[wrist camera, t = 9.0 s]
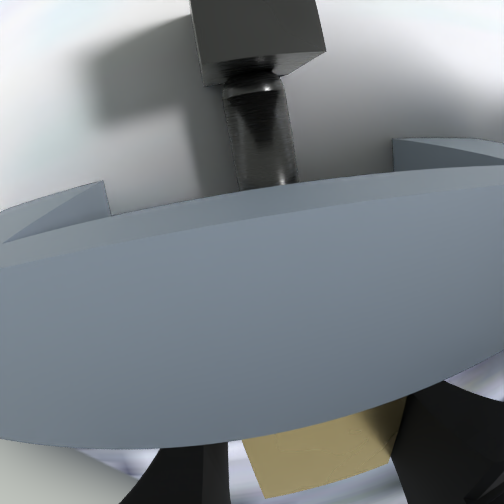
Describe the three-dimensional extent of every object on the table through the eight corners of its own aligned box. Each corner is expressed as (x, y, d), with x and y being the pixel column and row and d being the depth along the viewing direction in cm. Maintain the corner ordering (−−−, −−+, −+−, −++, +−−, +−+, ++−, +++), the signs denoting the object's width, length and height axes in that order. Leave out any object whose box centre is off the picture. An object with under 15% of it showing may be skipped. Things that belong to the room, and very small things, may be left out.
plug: (163, 19, 7) (125, -71, 2) (299, 2, 7) (373, -80, 3) (245, 392, 12) (265, 498, 8) (340, 369, 12) (387, 463, 8)
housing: (4, 209, 8) (-135, 304, 2) (473, 137, 10) (619, 176, 3) (30, 289, 9) (-66, 421, 3) (472, 212, 11) (600, 281, 5)
